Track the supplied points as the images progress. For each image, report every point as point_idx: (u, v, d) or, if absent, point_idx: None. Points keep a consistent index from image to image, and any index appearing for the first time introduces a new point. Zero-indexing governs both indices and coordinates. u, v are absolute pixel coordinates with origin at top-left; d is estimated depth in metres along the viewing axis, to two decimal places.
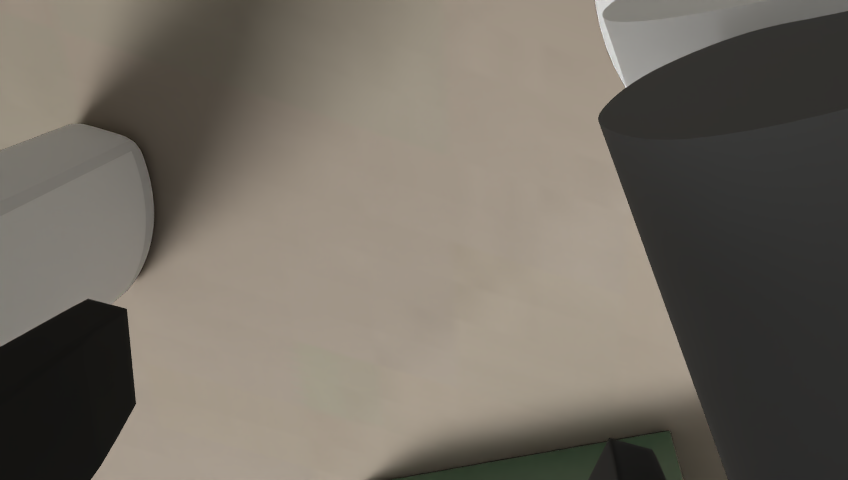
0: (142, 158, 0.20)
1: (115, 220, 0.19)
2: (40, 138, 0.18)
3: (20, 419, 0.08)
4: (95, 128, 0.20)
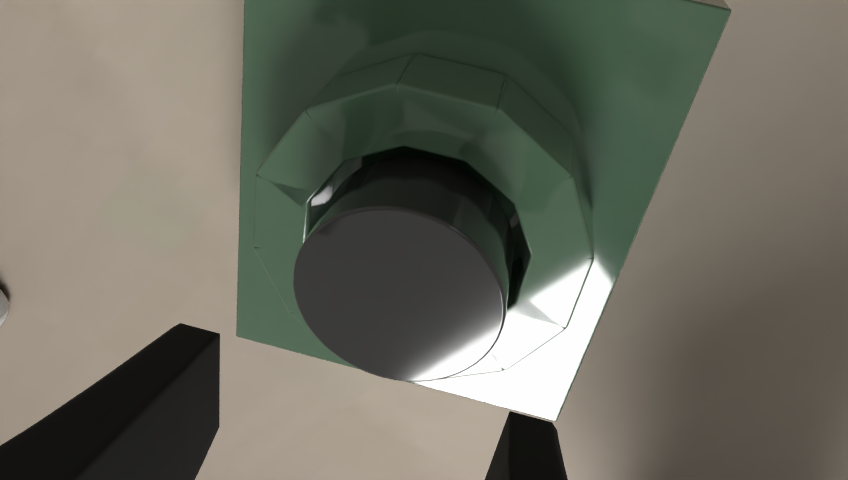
0: None
1: None
2: None
3: (133, 450, 0.08)
4: None
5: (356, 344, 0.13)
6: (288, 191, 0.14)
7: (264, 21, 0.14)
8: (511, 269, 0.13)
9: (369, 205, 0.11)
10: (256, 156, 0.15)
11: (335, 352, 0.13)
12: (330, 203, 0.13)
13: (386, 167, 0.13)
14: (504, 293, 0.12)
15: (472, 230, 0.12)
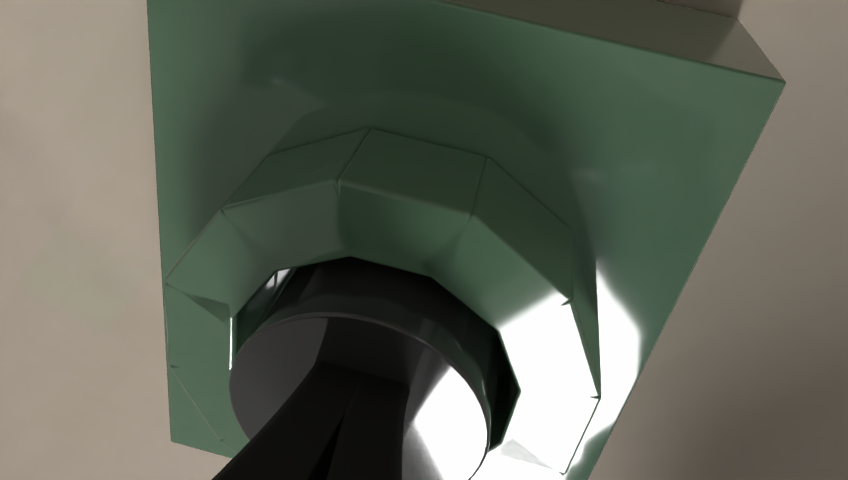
0: None
1: None
2: None
3: None
4: None
5: None
6: (206, 304, 0.10)
7: (176, 84, 0.11)
8: (498, 373, 0.11)
9: (317, 311, 0.09)
10: (178, 243, 0.12)
11: None
12: (275, 296, 0.10)
13: None
14: (488, 416, 0.10)
15: (447, 340, 0.09)
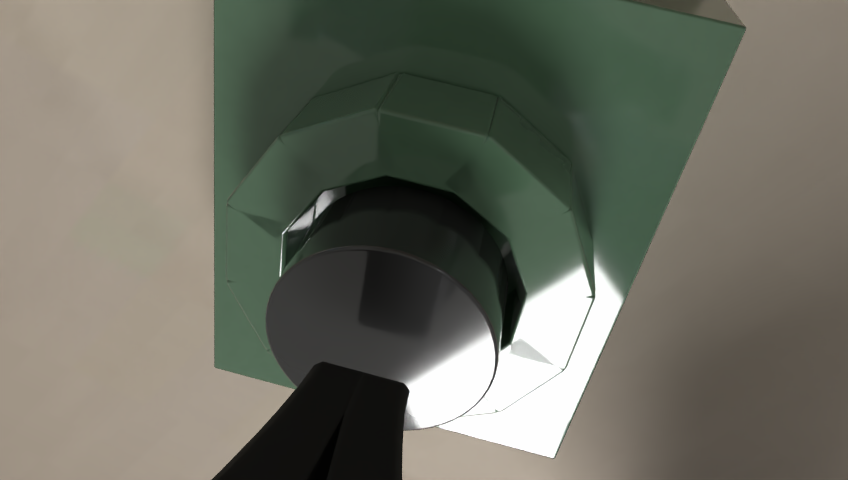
0: None
1: None
2: None
3: None
4: None
5: None
6: (262, 223, 0.12)
7: (235, 37, 0.13)
8: (504, 309, 0.12)
9: (347, 245, 0.10)
10: (230, 181, 0.14)
11: None
12: (306, 238, 0.12)
13: (368, 199, 0.12)
14: (496, 340, 0.11)
15: (461, 272, 0.11)
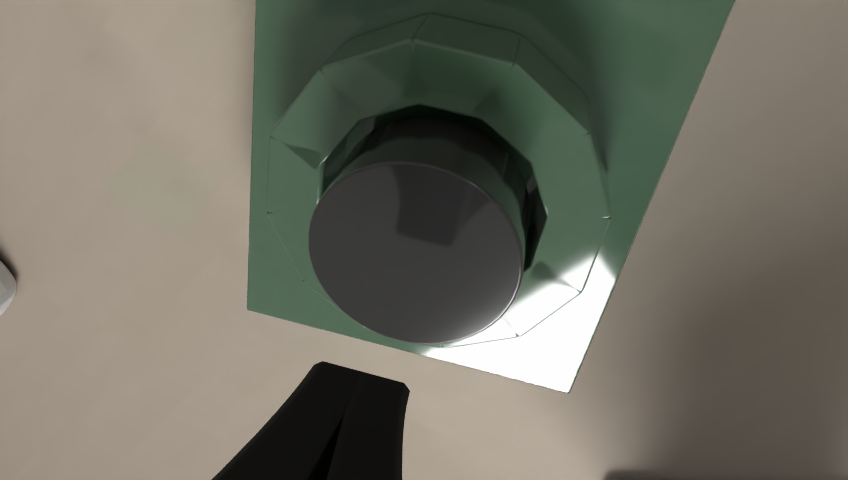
0: None
1: None
2: None
3: None
4: None
5: (371, 306, 0.13)
6: (301, 153, 0.13)
7: None
8: (527, 230, 0.13)
9: (386, 160, 0.11)
10: (267, 122, 0.15)
11: (350, 315, 0.13)
12: (345, 163, 0.13)
13: (401, 126, 0.13)
14: (522, 250, 0.12)
15: (490, 186, 0.12)
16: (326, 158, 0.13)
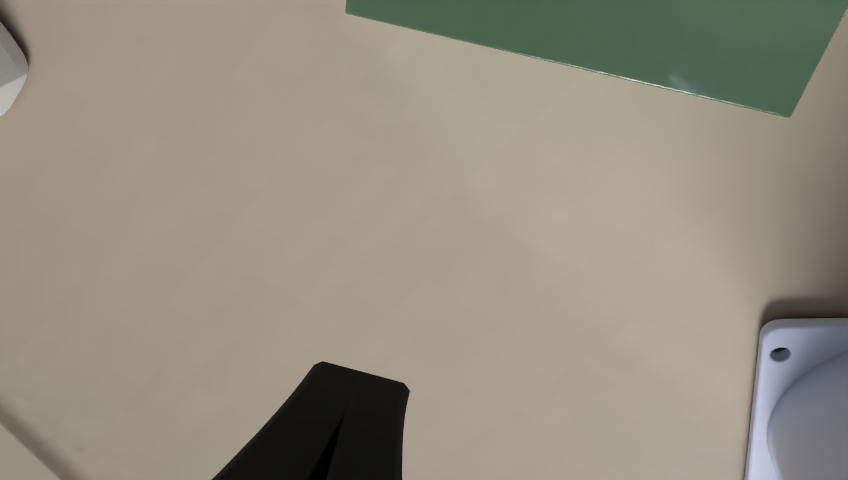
0: None
1: None
2: None
3: None
4: None
5: None
6: None
7: None
8: None
9: None
10: None
11: None
12: None
13: None
14: None
15: None
16: None
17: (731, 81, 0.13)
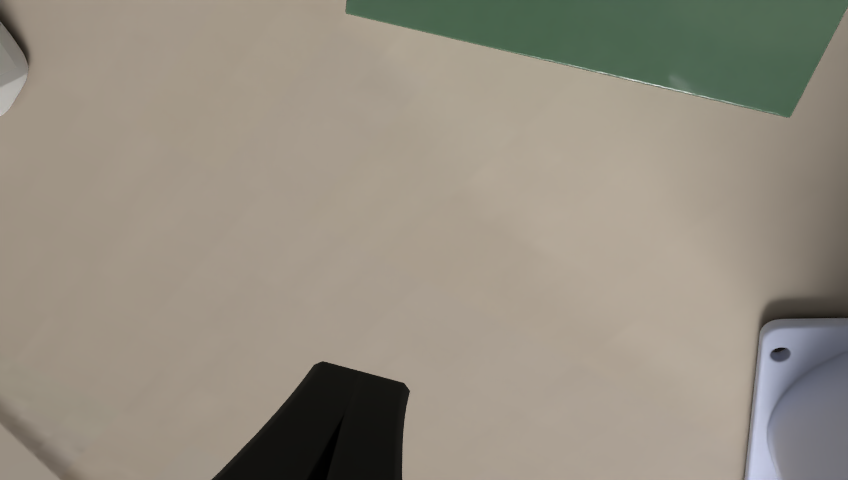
0: None
1: None
2: None
3: None
4: None
5: None
6: None
7: None
8: None
9: None
10: None
11: None
12: None
13: None
14: None
15: None
16: None
17: (731, 81, 0.13)
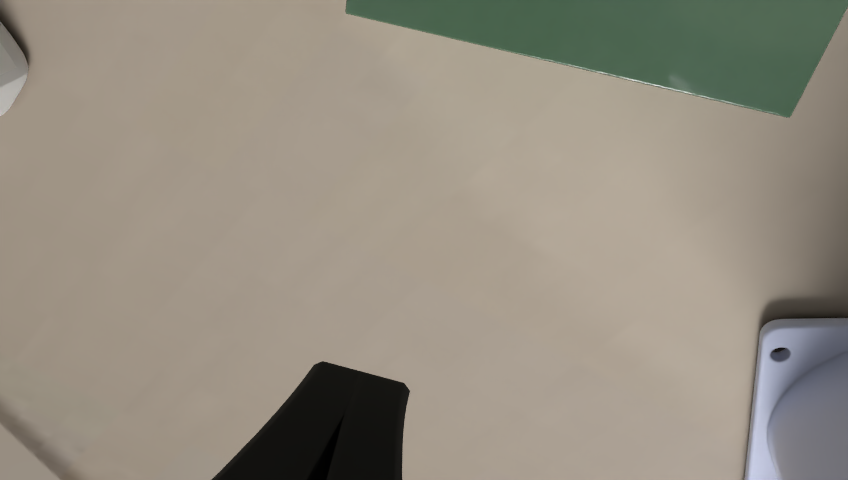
0: None
1: None
2: None
3: None
4: None
5: None
6: None
7: None
8: None
9: None
10: None
11: None
12: None
13: None
14: None
15: None
16: None
17: (731, 81, 0.13)
